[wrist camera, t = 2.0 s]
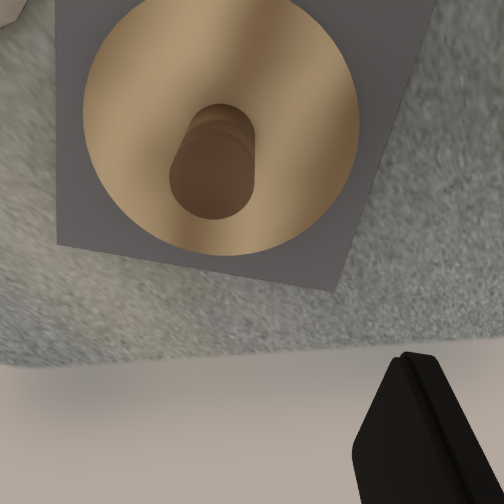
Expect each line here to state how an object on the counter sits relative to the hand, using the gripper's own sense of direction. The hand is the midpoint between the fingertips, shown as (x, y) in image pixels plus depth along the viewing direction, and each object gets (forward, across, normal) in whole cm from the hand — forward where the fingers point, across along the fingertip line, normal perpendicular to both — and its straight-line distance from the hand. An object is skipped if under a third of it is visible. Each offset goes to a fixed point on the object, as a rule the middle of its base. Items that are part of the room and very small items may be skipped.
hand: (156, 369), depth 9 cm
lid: (+16, 0, 0) cm, 16 cm away
